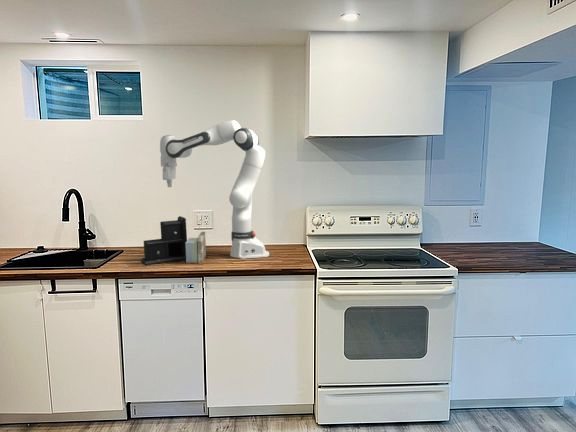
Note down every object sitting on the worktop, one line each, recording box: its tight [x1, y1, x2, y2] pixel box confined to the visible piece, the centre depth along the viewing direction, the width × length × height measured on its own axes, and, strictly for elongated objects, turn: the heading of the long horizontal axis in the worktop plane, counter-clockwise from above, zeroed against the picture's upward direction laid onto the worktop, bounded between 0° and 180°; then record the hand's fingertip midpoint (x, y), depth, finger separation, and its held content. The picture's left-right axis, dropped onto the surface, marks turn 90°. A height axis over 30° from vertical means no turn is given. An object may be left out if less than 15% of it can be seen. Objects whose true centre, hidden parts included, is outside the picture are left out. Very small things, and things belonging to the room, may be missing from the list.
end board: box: [197, 231, 207, 264], centre depth 226 cm, size 2×18×14 cm, turn 5°
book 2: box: [191, 237, 199, 264], centre depth 226 cm, size 3×14×11 cm, turn 5°
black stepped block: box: [140, 215, 188, 266], centre depth 223 cm, size 23×11×24 cm, turn 120°
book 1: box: [185, 237, 195, 264], centre depth 226 cm, size 3×14×11 cm, turn 5°
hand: (169, 187), depth 241 cm, fingers closed
